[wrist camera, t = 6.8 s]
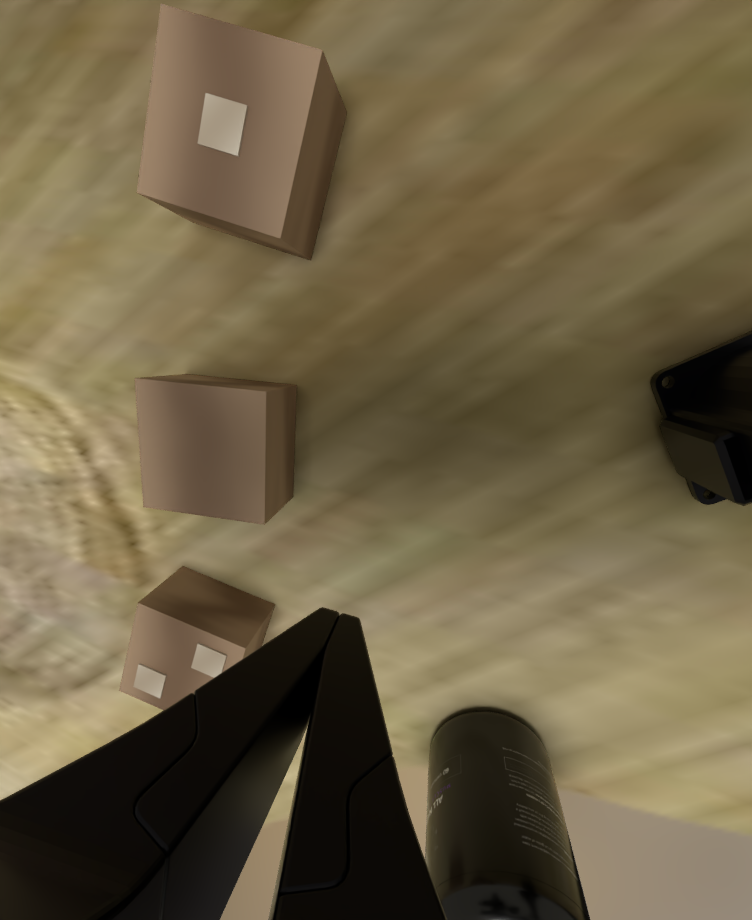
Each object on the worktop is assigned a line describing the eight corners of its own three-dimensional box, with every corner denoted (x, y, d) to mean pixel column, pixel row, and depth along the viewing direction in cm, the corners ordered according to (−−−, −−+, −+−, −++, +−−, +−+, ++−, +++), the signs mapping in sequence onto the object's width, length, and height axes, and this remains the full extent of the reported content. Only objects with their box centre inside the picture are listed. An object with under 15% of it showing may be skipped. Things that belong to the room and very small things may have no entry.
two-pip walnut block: (276, 602, 25) (244, 649, 21) (251, 678, 26) (217, 735, 22) (184, 564, 25) (136, 604, 21) (165, 642, 27) (117, 691, 23)
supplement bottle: (411, 719, 25) (384, 1033, 13) (523, 693, 23) (603, 1025, 12) (453, 806, 26) (462, 1164, 15) (563, 788, 24) (671, 1174, 13)
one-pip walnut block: (348, 115, 18) (321, 47, 14) (312, 261, 20) (279, 237, 16) (219, 77, 18) (159, 1, 14) (195, 223, 20) (134, 191, 16)
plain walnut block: (298, 384, 21) (266, 391, 17) (294, 495, 23) (264, 524, 19) (188, 373, 22) (134, 378, 18) (192, 482, 23) (143, 507, 20)
